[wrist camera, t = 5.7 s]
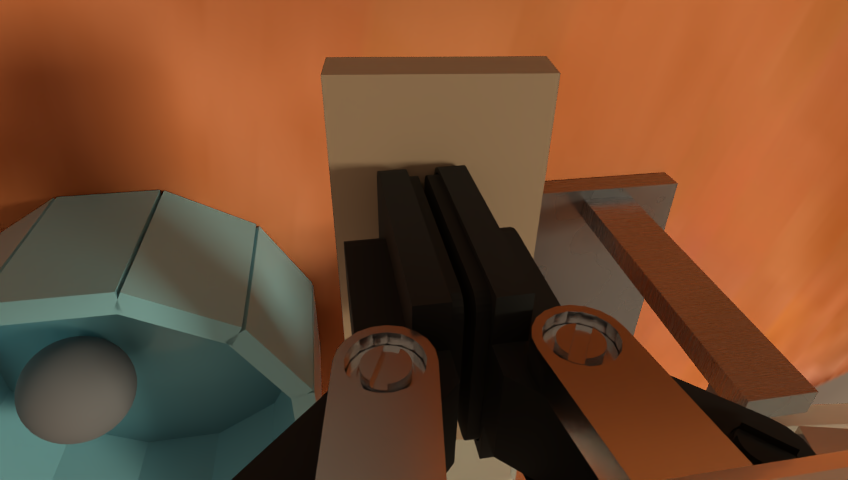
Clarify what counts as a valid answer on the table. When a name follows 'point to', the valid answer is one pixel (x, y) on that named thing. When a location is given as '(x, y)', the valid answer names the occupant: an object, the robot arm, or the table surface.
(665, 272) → the lever stand
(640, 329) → the table surface
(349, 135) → the lever
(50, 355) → the ball
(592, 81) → the table surface
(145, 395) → the teal round bowl
